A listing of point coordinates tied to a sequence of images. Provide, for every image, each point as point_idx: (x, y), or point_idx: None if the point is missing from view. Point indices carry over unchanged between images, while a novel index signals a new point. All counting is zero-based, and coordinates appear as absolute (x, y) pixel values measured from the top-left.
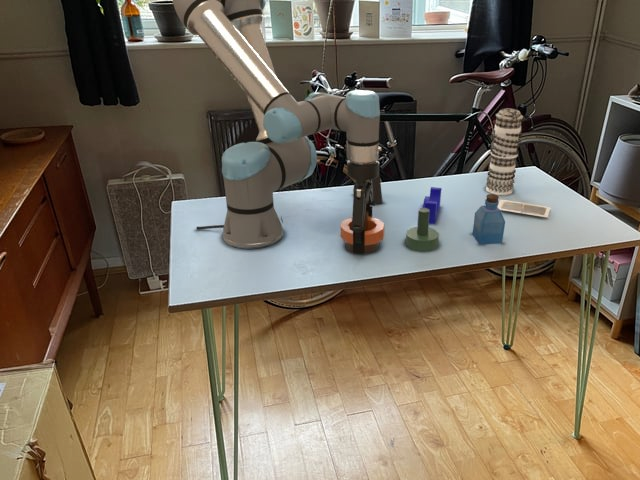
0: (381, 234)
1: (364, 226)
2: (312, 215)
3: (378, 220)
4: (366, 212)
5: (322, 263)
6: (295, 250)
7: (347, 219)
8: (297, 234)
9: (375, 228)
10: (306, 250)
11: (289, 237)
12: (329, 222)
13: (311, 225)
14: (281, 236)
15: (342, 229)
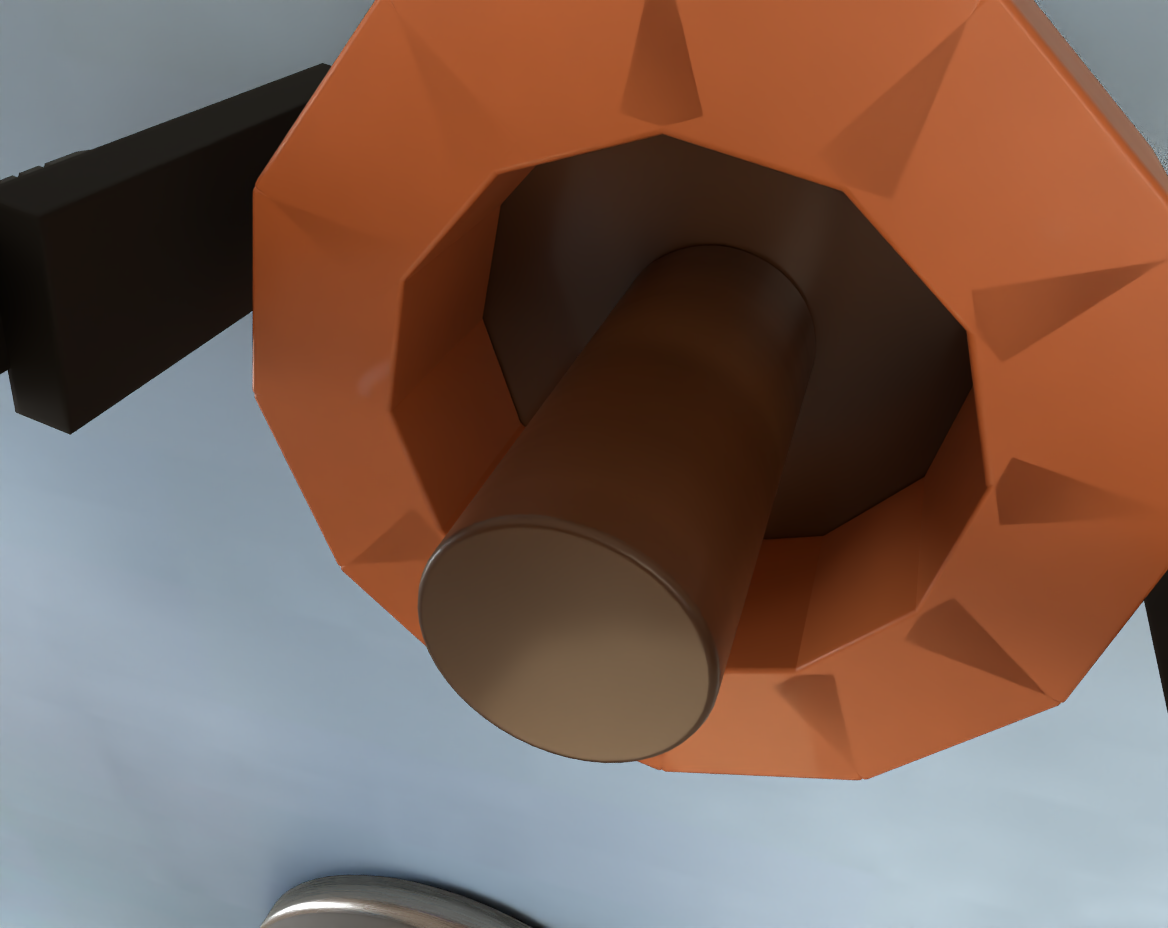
0: (1041, 21)
1: (780, 450)
2: (36, 602)
3: (429, 42)
4: (586, 577)
5: (1126, 798)
6: (744, 894)
7: (416, 617)
8: (422, 796)
9: (902, 207)
10: (759, 828)
11: (482, 857)
12: (133, 500)
13: (231, 658)
14: (498, 925)
15: (771, 762)
